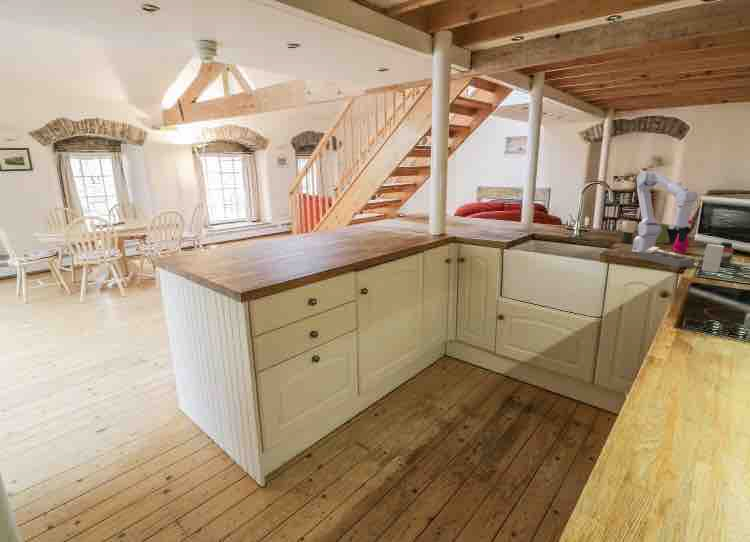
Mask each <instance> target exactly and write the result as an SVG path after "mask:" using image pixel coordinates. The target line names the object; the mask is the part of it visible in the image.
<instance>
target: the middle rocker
mask: <svg viewBox="0 0 750 542" xmlns="http://www.w3.org/2000/svg"><path fill="white" fill-rule="evenodd" d="M657 251H658V252H661V253H664V254H668V255H670V254H669V252H670V251H666V250H664V249H660V248H659V249H658V250H657Z"/></svg>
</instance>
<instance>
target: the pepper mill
mask: <svg viewBox="0 0 750 542" xmlns="http://www.w3.org/2000/svg"><path fill="white" fill-rule="evenodd" d="M688 224H691V227H690V228H692V227H693V220H691V219H689V221H688ZM678 237H679V234H678V236H677V238H676V241H675V243H674V244H673V243H672V245H673V247H674V248H673V249H672V252H673V251H674V253H675V252H678V253H677V254H683V253H684V254H687V251H688V250H687V249H688V248H689V247H690V240H689V234H688V235H687V237H686V239H685V241H684V242H678Z"/></svg>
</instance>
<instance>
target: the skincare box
mask: <svg viewBox="0 0 750 542" xmlns="http://www.w3.org/2000/svg"><path fill="white" fill-rule="evenodd" d="M723 249H724V246H721V244H720V245H719V244H713V243H711V244H710V243H707V245H706V248H705V252H704V256H703V261H702V262H703V263H702V266H701V271H704V272H710V273H719V271H720V267H721V266H720V262H721V258H722V254H723Z"/></svg>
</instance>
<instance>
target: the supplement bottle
mask: <svg viewBox="0 0 750 542" xmlns="http://www.w3.org/2000/svg"><path fill="white" fill-rule="evenodd" d="M720 245H721V246H724V249H723V254H722V258H721V262H720V267H722V268H723V267H724V268H725V267H726V268H728V267H730V264H731V261H732V257H733V254H734V247H733V243H732V242H728V241H722V242H721V244H720Z"/></svg>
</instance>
